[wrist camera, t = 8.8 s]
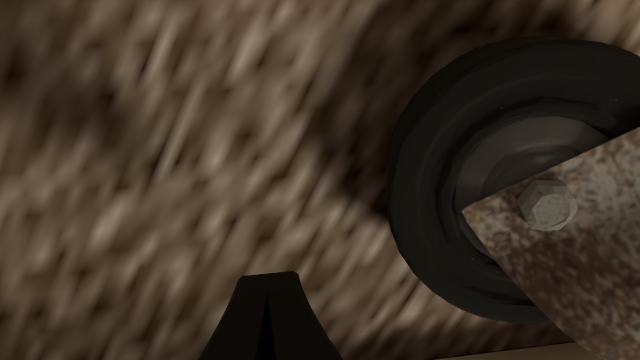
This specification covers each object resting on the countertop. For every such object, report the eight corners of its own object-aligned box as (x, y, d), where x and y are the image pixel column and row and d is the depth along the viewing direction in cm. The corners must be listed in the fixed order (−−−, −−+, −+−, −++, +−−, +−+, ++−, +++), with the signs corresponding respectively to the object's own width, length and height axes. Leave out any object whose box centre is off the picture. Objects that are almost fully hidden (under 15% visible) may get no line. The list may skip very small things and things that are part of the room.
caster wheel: (345, 109, 16) (626, -49, 14) (476, 339, 19) (736, 243, 16) (323, 164, 10) (831, -108, 7) (522, 494, 13) (957, 383, 10)
